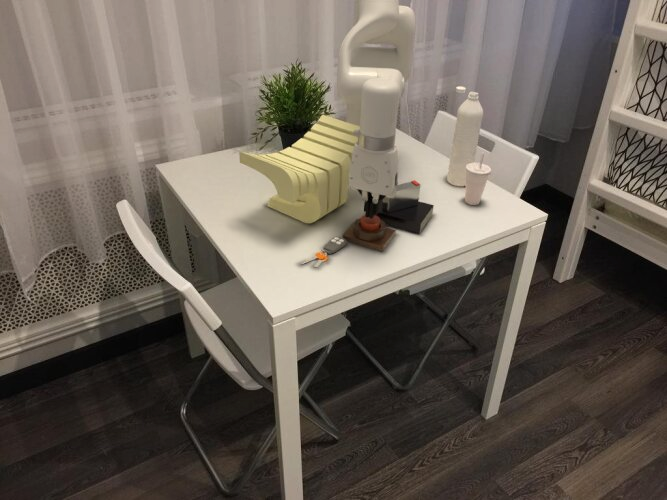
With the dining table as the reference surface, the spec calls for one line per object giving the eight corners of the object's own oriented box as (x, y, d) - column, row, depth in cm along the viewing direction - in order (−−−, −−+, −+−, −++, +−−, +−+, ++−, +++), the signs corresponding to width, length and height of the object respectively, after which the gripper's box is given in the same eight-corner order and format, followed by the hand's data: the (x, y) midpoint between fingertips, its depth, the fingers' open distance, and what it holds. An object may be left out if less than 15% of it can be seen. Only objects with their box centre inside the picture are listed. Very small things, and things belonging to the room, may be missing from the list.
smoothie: (470, 209, 150) (479, 159, 142) (454, 198, 154) (463, 149, 146) (489, 204, 152) (500, 154, 144) (474, 193, 157) (483, 144, 149)
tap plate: (364, 219, 144) (365, 209, 142) (380, 202, 151) (381, 191, 150) (419, 234, 139) (420, 223, 137) (432, 215, 146) (433, 205, 145)
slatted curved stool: (293, 242, 134) (293, 172, 124) (243, 219, 142) (239, 151, 132) (368, 194, 154) (373, 130, 144) (320, 176, 162) (322, 114, 152)
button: (357, 228, 134) (357, 221, 133) (364, 219, 138) (365, 212, 137) (375, 233, 133) (375, 226, 132) (382, 224, 136) (383, 217, 135)
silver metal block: (387, 213, 141) (389, 191, 137) (381, 208, 142) (383, 187, 139) (418, 205, 144) (420, 183, 141) (412, 200, 146) (415, 179, 143)
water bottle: (475, 182, 162) (492, 94, 148) (459, 189, 159) (475, 98, 145) (451, 170, 168) (465, 84, 154) (435, 176, 164) (448, 88, 150)
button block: (342, 240, 136) (342, 227, 134) (356, 224, 142) (357, 211, 140) (382, 252, 132) (383, 238, 130) (395, 235, 138) (396, 222, 136)
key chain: (334, 239, 136) (335, 233, 135) (348, 244, 134) (348, 239, 134) (300, 264, 127) (300, 259, 126) (314, 271, 125) (314, 265, 125)
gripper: (337, 138, 123) (334, 214, 133) (404, 153, 118) (395, 231, 128) (351, 126, 129) (347, 200, 139) (416, 140, 124) (407, 216, 134)
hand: (370, 215), depth 133 cm, fingers closed
